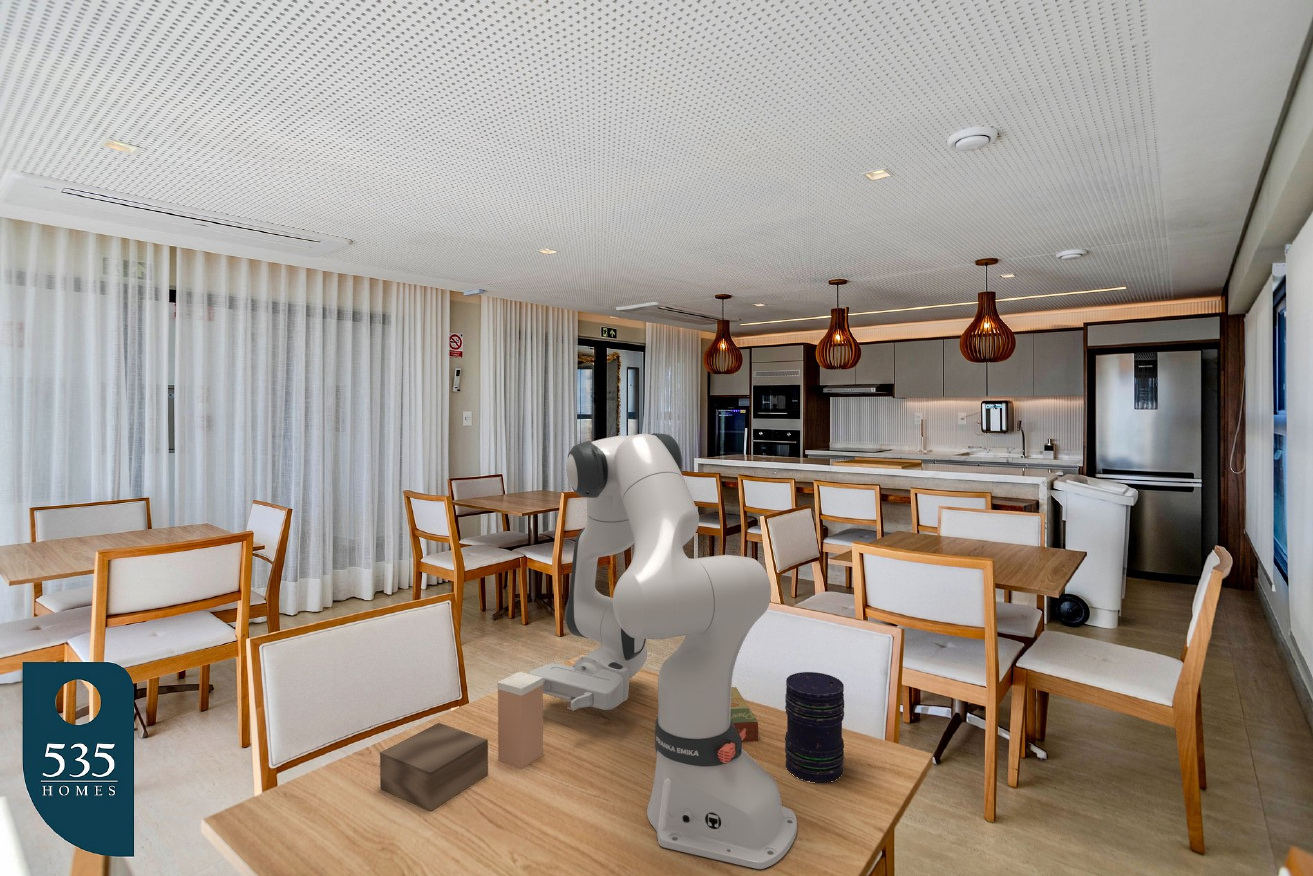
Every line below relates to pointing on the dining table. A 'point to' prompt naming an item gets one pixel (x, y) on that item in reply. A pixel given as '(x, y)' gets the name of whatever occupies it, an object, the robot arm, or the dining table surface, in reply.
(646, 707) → the dining table surface
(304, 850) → the dining table surface
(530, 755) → the tall carton
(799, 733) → the storage jar
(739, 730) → the carton
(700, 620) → the robot arm
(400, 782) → the wooden block
